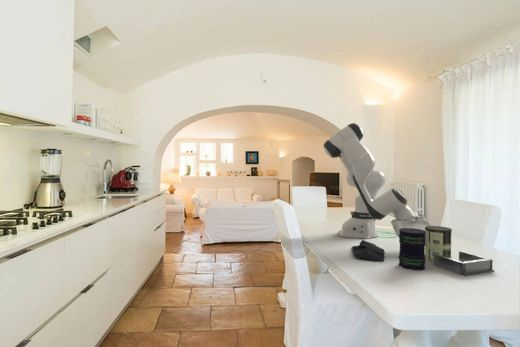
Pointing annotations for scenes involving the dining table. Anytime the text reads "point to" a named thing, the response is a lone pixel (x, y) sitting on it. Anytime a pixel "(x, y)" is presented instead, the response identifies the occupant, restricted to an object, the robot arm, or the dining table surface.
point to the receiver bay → (464, 263)
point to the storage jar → (412, 248)
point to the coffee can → (437, 242)
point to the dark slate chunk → (368, 251)
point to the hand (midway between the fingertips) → (422, 243)
